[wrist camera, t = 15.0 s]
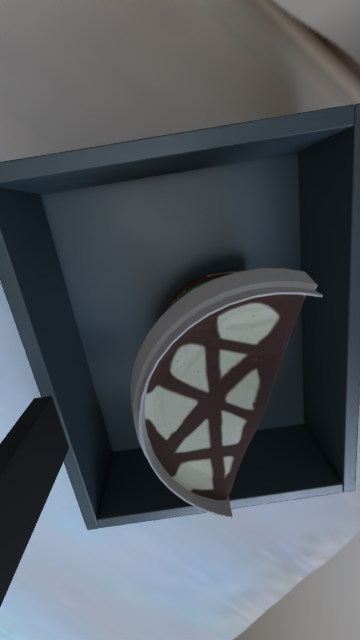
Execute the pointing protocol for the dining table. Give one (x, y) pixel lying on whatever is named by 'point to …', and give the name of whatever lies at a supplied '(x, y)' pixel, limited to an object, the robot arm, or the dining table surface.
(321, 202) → the tote
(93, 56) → the dining table surface
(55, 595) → the dining table surface
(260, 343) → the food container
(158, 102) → the dining table surface
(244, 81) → the dining table surface
